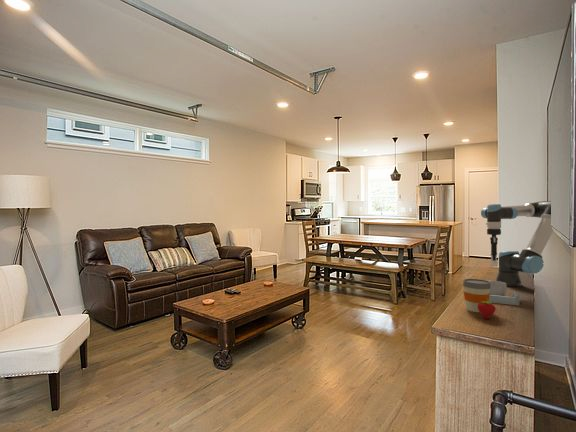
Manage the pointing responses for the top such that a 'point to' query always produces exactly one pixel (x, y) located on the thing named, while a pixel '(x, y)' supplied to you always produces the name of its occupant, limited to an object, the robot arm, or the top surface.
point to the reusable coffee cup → (475, 293)
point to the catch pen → (505, 299)
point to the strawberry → (486, 309)
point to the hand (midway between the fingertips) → (493, 264)
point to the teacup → (497, 288)
